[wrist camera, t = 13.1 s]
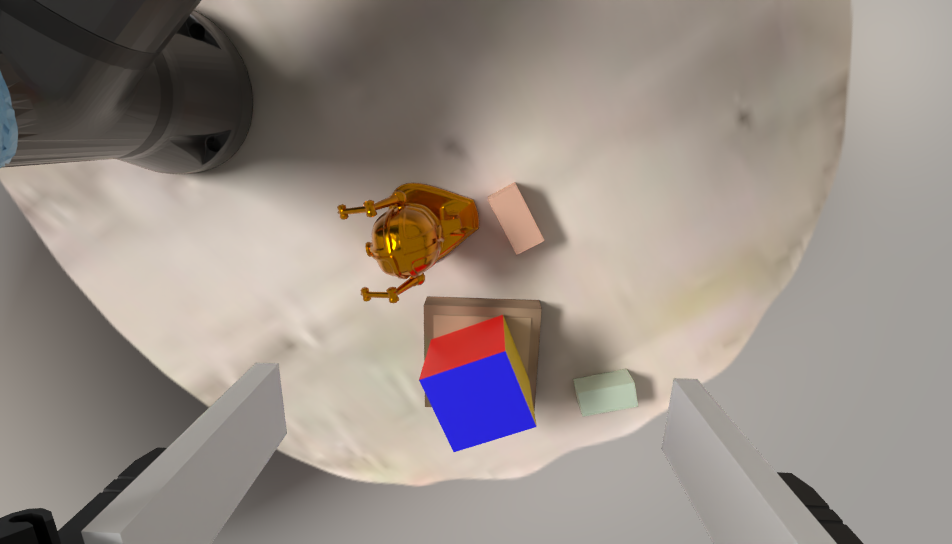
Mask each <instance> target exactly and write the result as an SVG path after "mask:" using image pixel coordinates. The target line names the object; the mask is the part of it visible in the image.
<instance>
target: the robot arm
mask: <svg viewBox="0 0 952 544" xmlns="http://www.w3.org/2000/svg"><path fill="white" fill-rule="evenodd" d="M200 1H201V0H0V168H1V167H14V166H27V165H40V164H53V163H66V162H79V161H92V160H104V159H118V160H121V161H124V162H127V163H130V164H133V165H136V166H139V167H142V168H145V169H148V170H152V171H156V172H160V173H168V174H186V173H194V172H201V171H206V170H209V169H212V168H215V167H217V166H219V165H221V164H222V163H224V162H225V161H227V160H228V159H229V158H230V157H231V156H232V155H233V154H234V153H235V152H236V151H237V150H238V149H239V147H240V146H241V145H242V143H243V141H244V139H245V137H246V135H247V132H248V130H249V127H250V123H251V118H252V108H253V99H252V90H251V84H250V80H249V77H248V73H247V70H246V68H245V65H244V63H243V61H242V59H241V57H240V55H239V53H238V52H237V50H236V48H235V47H234V45H233V44H232V43H231V41H230V40H229V39H228V37H227V36H226V35H225V34H224V33H223V32H222V31H221V30H220V29H219V28H218V27H217V26H216V25H215V24H214V23H212V22H211V21H210V20H209V19H207V18H206V17H204V16H203V15H201V14H199V13H198V12H196V11H194V9H195V8H196V7H197V5H198V4H199V3H200ZM286 434H287V430H286V422H285V413H284V405H283V397H282V389H281V380H280V372H279V364H276V363H255V364H254V365H253V366H252V367H251V368H250V369H249V370H248V371H247V372H246V373H245V374H244V375H243V376H242V377H241V378H240V379H239V380H238V381H237V382H235V383H234V384H233V385H232V386H231V387H230V388H229V389H228V390H227V391H226V392H225V393H224V394H223V395H222V396H221V397H220V398H219V399H218V400H217V401H216V402H215V403H214V404H213V405H212V406H211V407H210V408H208V409H207V410H206V412H204V413H203V414H202V415H201V416H200V417H199V418H198V419H197V420H196V421H195V422H194V423H193V424H192V425H191V426H190V427H189V428H188V429H187V430H186V431H185V432H184V433H183V434H182V435H181V436H180V437H178V438H177V439H176V440H175V441H174V442H173V443H172V444H171V445H170V446H169V447H168V448H156V449H154V450H152V451H151V452H149V453H147V454H146V455H144V456H142V457H141V458H139V459H137V460H135V461H134V462H133V463H132V464H131V465H130V466H129V467H128V468H127V469H125V470H124V471H123V472H122V473H121V474H120V475H119V476H118V479H117V480H115V479H114V480H113V481H112V482H111V483H110V484H109V485H108V486H107V487H106V488H105V489H104V491H103V493H99V494H98V495H97V496H96V497H95V498H94V499H93V500H92V501H90V502H89V503H88V504H87V505H86V506H85V507H84V508H83V509H82V510H80V511H79V512H78V513H77V514H76V515H75V516H74V517H73V518H72V519H71V520H70V521H68V522H67V523H66V524H65V525H64V526H63V527H62V528H61V529H60V530H59V531H57V528H56V525H55V522H54V519H53V516H52V513H51V511H48V510H46V509H43V508H38V509H26V510H22V511H19V512H15V513H11V514H9V515H6V516H4V517H2V518H0V544H211V543H212V542H213V540H214V539H215V537H216V536H217V534H218V533H219V531H220V530H221V529H222V527H223V525H224V524H225V523H226V521H227V520H228V518H229V517H230V515H231V514H232V513H233V511H234V510H235V508H236V507H237V505H238V504H239V502H240V501H241V499H242V498H243V497H244V495H245V494H246V492H247V491H248V489H249V488H250V486H251V485H252V483H253V482H254V481H255V479H256V478H257V476H258V475H259V473H260V472H261V470H262V469H263V467H264V466H265V464H266V463H267V462H268V460H269V459H270V457H271V455H272V454H273V453H274V451H275V450H276V448H277V447H278V446H279V444H280V443H281V441H282V440H283V438H284V437H285V435H286ZM662 451H663V453H664V454H665V456H666V458H667V460H668V461H669V464H670V465H671V467H672V469H673V471H674V472H675V474H676V476H677V478H678V480H679V482H680V484H681V486H682V487H683V489H684V491H685V493H686V495H687V496H688V498H689V500H690V502H691V504H692V506H693V508H694V509H695V511H696V513H697V515H698V517H699V518H700V520H701V522H702V524H703V526H704V528H705V529H706V531H707V533H708V535H709V537H710V539H711V541H712V542H713V544H863V543H862V542H861V540H860V539H859V538H858V537H857V536H856V535H855V534H854V533H853V532H852V531H851V529H850V528H849V527H848V526H847V525H844V524H843V521H842V520H841V519H840V517H839V516H838V515H837V514H836V513H835V512H834V511H833V510H830V509H829V506H828V504H827V503H826V502H825V501H824V500H823V499H822V498H821V497H820V496H819V495H818V493H817V492H816V491H815V490H814V489H813V488H812V487H810V486H809V485H807V484H806V483H805V482H803V481H802V480H800V479H799V478H797V477H796V476H795V475H793V474H792V473H778V472H776V471H775V470H774V469H773V468H772V467H771V465H770V464H769V463H768V462H767V461H766V459H765V458H764V457H763V456H762V455H761V454H760V452H759V451H758V450H757V449H756V448H755V447H754V445H753V444H752V443H751V442H750V441H749V439H748V438H747V437H746V436H745V435H744V434H743V433H742V431H741V430H740V429H739V428H738V427H737V425H736V424H735V423H734V422H733V421H732V419H731V418H730V417H729V416H728V415H727V414H726V413H725V411H724V410H723V409H722V408H721V406H720V405H719V404H718V403H717V402H716V401H715V399H714V398H713V397H712V396H711V395H710V394H709V392H708V391H707V390H706V389H705V388H704V386H703V385H702V384H701V383H700V382H699V381H698V379H678V378H674V380H673V385H672V391H671V397H670V403H669V408H668V414H667V420H666V425H665V431H664V437H663V443H662Z"/></svg>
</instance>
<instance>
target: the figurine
mask: <svg viewBox="0 0 952 544" xmlns="http://www.w3.org/2000/svg"><path fill="white" fill-rule="evenodd" d="M363 204H364V206H362V207H354V208H346V205H344V204H342V205H339V206H338V207H337V208H338V210H339V211H338V214H340V219H347V218H348V217H349V216H348V214H356V213H366V215H367V217H374V216H376V215H377V212H376V210H378V209H382V208H385V207H389V210H388V211H387V212H385V213H384V214H383V215H381V216H380V217H379V218H378V219H377V220H376V222H375V224H374V226H373V229H372V243H370V242H367V243H366V252H367V255H368V256H369V257H371V256H372V257H373V258H374V259H375V260H376V261H377V263H378V265H379V267H380V268H381V270H382V271H383V272H384V273H386V274H388V275H391V276H396V277H398V278H400V279H407V278H408V277H409V276H411V277H410V278H409V279H408V280H407V281H405V282H404V283H403V284H402V285H400V286H399V287H398V288H397V289H396V287H389V288H388V289H387V290H386V291H387V292H369V289H368V288H367V287H364V288H362V289H361V295H363V300H364V301H369V300H370V299H371V297H374V298H389V302H390V303H396V302H397V301H399V297H398V295H399V294H401V293H402V292H404V291H406V290H408V289H409V288H411V287H413V286H416V285H421V284H423V283H424V281H425V275H424V273H423V272H425V271H426V270H428V269H429V268H431V267H432V266H433V265H434V264H435V263H436V261H437V260H439V259H441V258H442V257H444V256H445V255H447V254H448V253H449V252H451V251H452V250H453V249H454V248H456V247H457V246H458V245H459V244H460V243H462V242H463V241H464V240H465V239H466V238H467V237H469V236H470V235H471V234H472V233H474V232H475V231H476V230H478V229H479V215H478V210H477V207H476V204H475V202H474V200H473V199H471V198H467V197H464V196H461V195H458V194H455V193H453V192H450V191H447V190H444V189H441V188H438V187H434V186H431V185H427V184H421V183H406V184H403V185H401V186H399V187H398V188H397V189H396V190H395V191H394V193H393V194H392V195H391V196H390V197H388V198H386V199H384V200H381V201H379V202H377V203H375V204H374V201H372V200H368V201H365V202H364V203H363Z"/></svg>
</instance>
